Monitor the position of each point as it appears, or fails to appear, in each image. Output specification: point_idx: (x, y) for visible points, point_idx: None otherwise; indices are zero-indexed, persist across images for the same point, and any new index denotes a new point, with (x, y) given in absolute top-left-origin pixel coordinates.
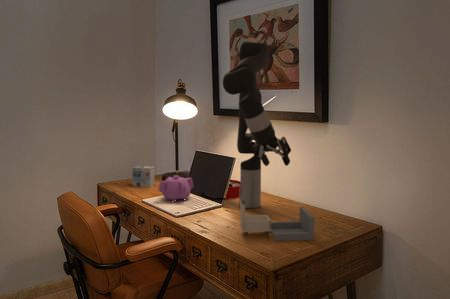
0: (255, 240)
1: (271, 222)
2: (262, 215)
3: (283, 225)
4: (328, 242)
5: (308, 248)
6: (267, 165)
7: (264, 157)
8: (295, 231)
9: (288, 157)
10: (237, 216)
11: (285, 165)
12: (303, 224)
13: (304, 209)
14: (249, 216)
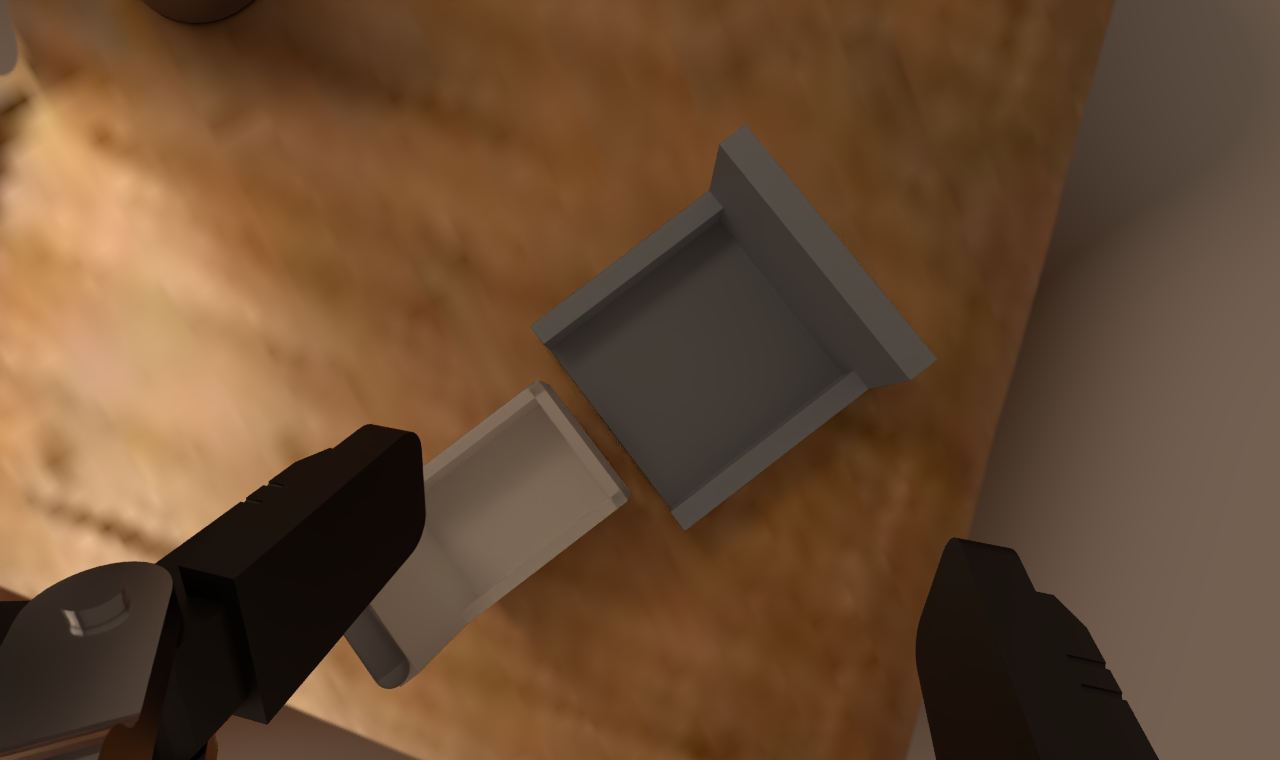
0: (571, 583)
1: (553, 324)
2: (511, 414)
3: (628, 285)
4: (969, 372)
5: (905, 532)
6: (423, 514)
7: (279, 649)
8: (727, 315)
9: (1134, 737)
10: (241, 224)
11: (923, 655)
12: (775, 269)
13: (783, 195)
14: (430, 478)
